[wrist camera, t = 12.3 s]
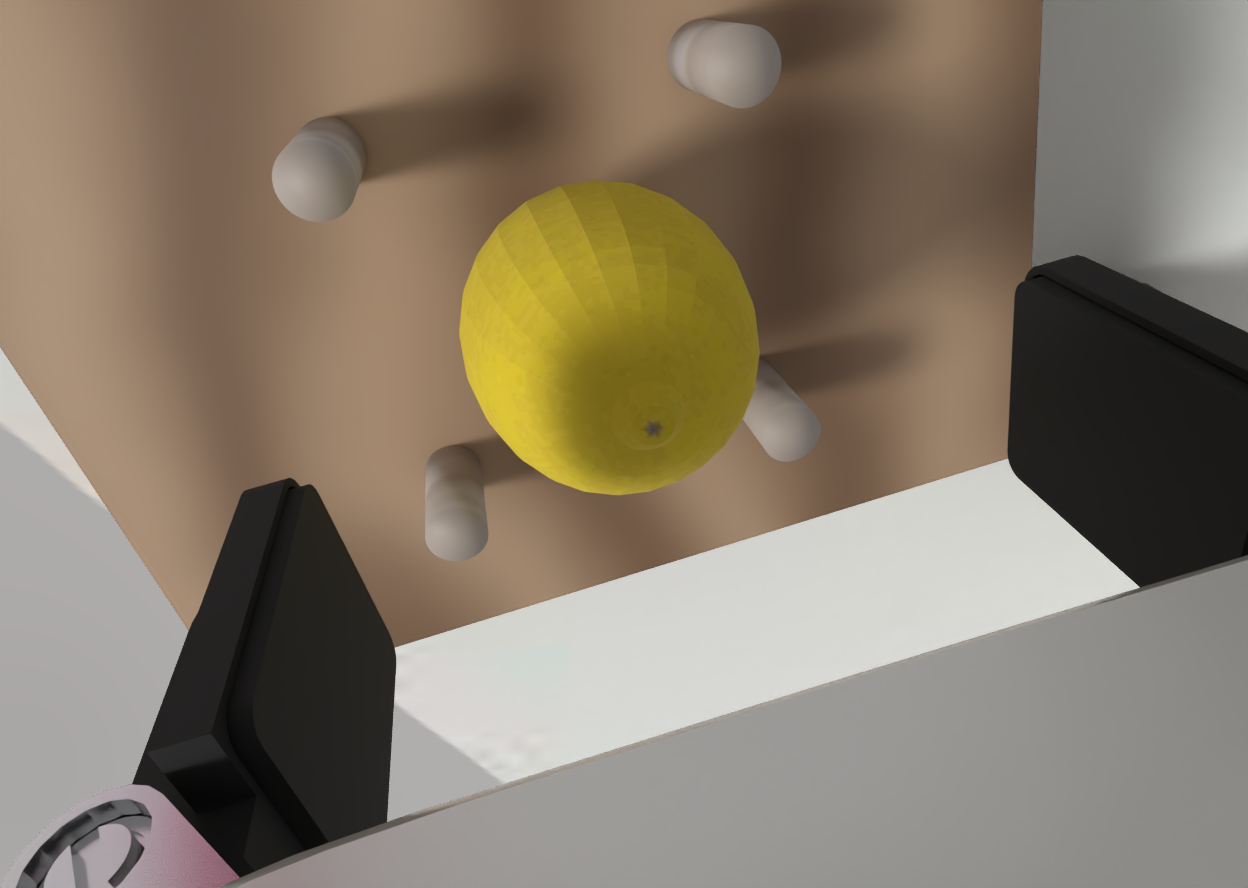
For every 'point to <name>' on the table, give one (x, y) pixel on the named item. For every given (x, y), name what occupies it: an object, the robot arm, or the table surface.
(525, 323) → the lemon
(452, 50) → the peg shelf
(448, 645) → the table surface
